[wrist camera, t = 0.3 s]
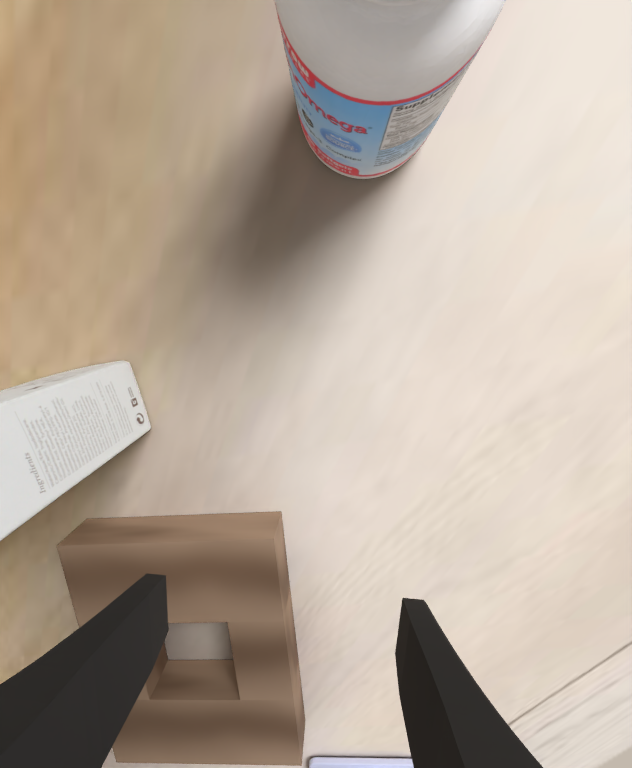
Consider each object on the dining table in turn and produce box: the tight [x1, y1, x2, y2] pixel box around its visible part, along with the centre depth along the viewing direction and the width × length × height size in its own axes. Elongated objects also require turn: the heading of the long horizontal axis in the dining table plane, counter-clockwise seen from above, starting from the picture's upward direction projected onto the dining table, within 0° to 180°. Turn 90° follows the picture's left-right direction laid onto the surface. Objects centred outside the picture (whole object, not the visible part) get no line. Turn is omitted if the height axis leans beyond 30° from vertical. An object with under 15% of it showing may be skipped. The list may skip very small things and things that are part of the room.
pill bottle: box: [275, 0, 506, 179], centre depth 11 cm, size 6×6×11 cm
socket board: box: [57, 512, 305, 766], centre depth 23 cm, size 16×12×2 cm
